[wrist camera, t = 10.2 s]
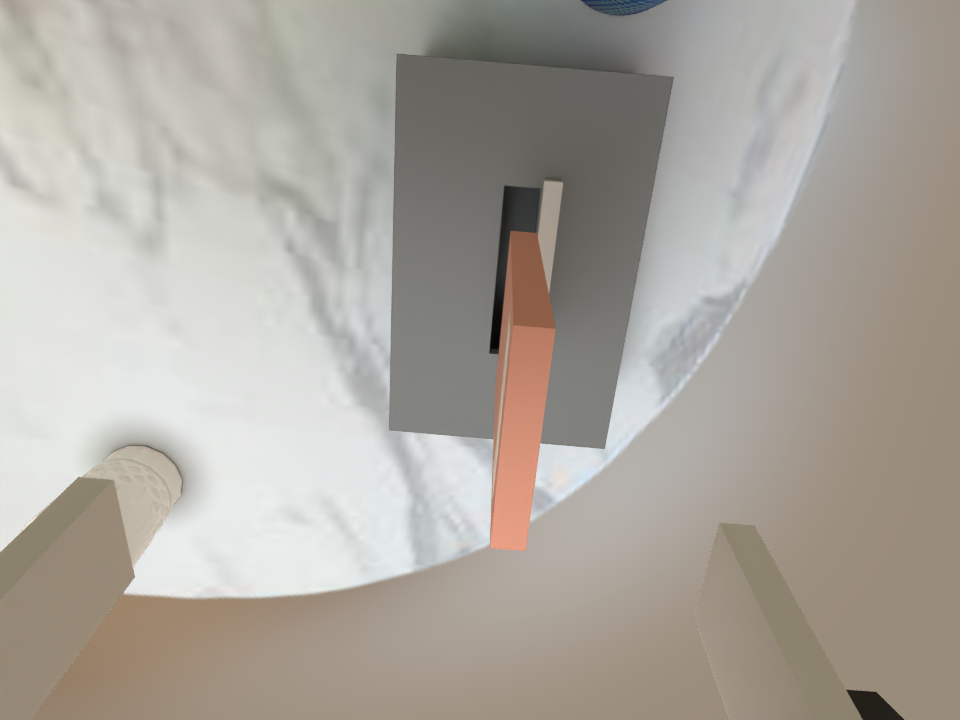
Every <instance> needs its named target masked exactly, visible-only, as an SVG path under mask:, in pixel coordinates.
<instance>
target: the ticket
mask: <svg viewBox="0 0 960 720" xmlns="http://www.w3.org/2000/svg"><path fill="white" fill-rule="evenodd" d="M555 330H556V328H555V323H554V318H553V313H552V307H551V302H550V297H549V292H548V287H547V282H546V277H545V272H544V267H543V262H542V257H541V252H540V247H539V241H538V236H537V233H530V232H518V231H511V232H510V242H509V253H508V263H507V273H506V283H505V294H504V304H503V314H502V325H501V335H500V345H499V355H498V366H497V376H496V386H495V413H494V442H493V471H492V500H491V529H490V548H497V549H509V550H520V551H526V543H527V537H528V530H529V522H530V515H531V507H532V500H533V493H534V485H535V478H536V471H537V463H538V456H539V448H540V441H541V434H542V426H543V419H544V411H545V404H546V397H547V389H548V382H549V375H550V367H551V360H552V352H553V345H554V338H555Z"/></svg>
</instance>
